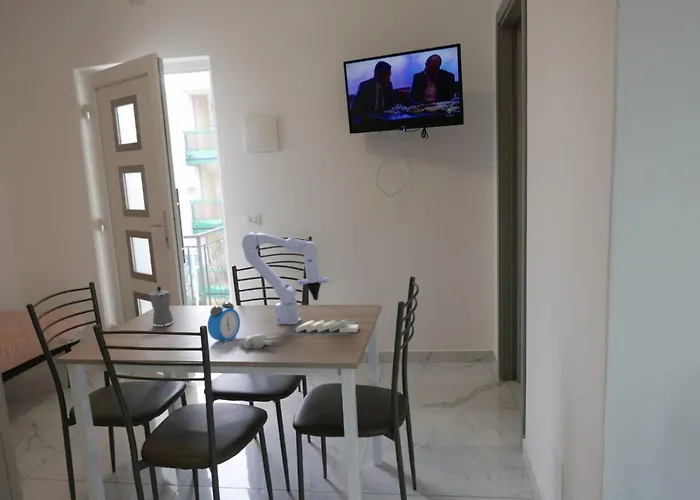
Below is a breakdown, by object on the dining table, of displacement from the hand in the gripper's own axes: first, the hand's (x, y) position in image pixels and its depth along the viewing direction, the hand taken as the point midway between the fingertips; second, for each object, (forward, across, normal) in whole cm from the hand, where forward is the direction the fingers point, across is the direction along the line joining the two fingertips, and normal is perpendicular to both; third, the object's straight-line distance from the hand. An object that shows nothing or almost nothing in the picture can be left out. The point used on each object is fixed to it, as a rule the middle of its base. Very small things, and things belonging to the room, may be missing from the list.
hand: (315, 299), depth 240 cm
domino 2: (+8, 0, -16) cm, 18 cm away
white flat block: (+9, +14, -16) cm, 23 cm away
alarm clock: (+8, -32, -27) cm, 42 cm away
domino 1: (+8, -4, -16) cm, 19 cm away
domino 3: (+8, +5, -16) cm, 19 cm away
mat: (+10, +5, -12) cm, 17 cm away
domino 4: (+9, +10, -16) cm, 21 cm away
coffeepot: (+6, -74, -4) cm, 75 cm away
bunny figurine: (+9, -14, -35) cm, 39 cm away
